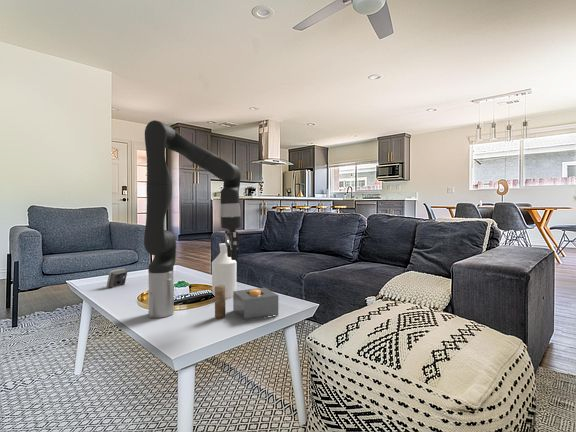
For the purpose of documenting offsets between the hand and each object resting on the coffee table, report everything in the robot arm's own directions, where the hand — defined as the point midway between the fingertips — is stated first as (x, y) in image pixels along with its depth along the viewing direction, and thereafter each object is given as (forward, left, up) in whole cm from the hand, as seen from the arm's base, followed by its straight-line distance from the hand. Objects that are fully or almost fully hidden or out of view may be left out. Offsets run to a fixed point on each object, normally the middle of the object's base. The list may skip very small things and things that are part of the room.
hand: (232, 258), depth 123 cm
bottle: (+6, +34, -23) cm, 42 cm away
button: (+10, +2, -20) cm, 23 cm away
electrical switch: (-41, +78, -23) cm, 91 cm away
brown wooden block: (-4, +3, -23) cm, 24 cm away
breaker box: (+10, +2, -23) cm, 25 cm away
